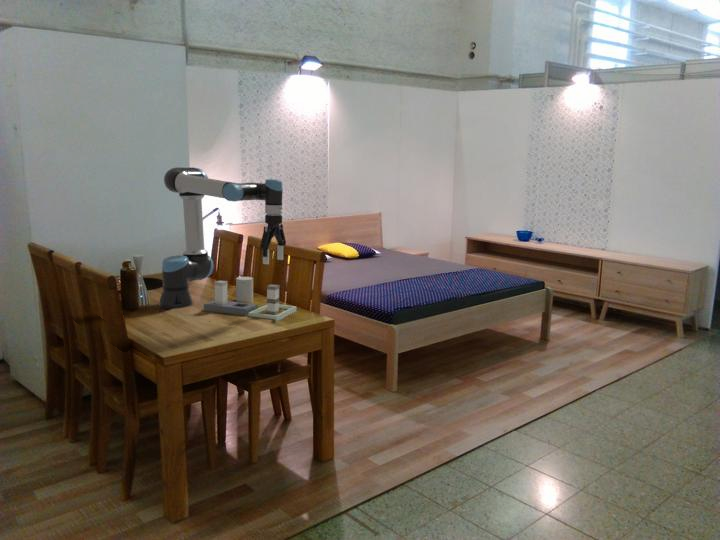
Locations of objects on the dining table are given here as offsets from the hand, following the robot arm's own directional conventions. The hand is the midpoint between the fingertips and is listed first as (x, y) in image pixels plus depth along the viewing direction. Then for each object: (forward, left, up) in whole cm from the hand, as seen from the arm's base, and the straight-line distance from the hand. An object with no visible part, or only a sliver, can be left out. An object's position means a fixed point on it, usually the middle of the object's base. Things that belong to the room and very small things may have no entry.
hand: (273, 261), depth 272 cm
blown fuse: (0, 0, -24) cm, 24 cm away
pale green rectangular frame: (0, 0, -24) cm, 24 cm away
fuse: (-24, -5, -23) cm, 34 cm away
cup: (-24, +16, -25) cm, 38 cm away
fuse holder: (-19, -5, -24) cm, 31 cm away
